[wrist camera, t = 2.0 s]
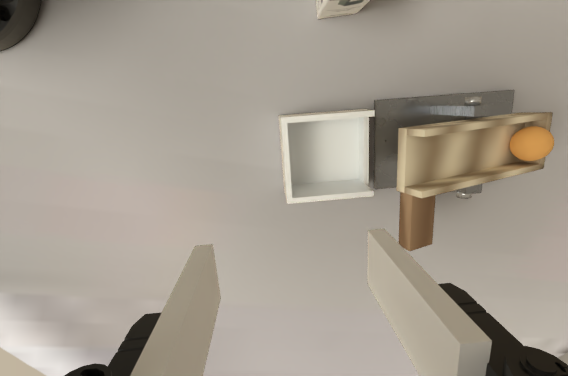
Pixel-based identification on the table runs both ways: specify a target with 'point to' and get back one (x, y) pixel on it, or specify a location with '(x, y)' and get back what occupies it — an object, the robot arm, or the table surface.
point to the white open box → (325, 155)
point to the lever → (454, 164)
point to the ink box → (338, 7)
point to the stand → (422, 113)
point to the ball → (531, 143)
